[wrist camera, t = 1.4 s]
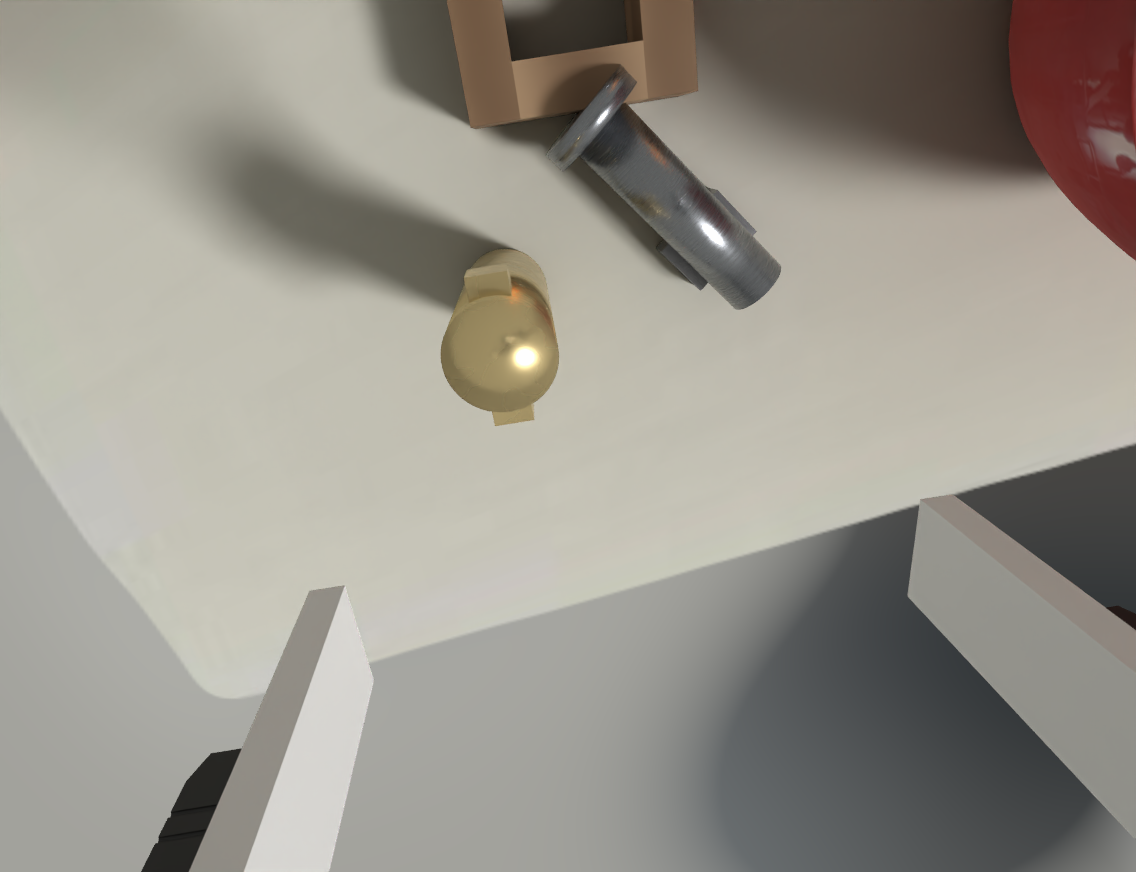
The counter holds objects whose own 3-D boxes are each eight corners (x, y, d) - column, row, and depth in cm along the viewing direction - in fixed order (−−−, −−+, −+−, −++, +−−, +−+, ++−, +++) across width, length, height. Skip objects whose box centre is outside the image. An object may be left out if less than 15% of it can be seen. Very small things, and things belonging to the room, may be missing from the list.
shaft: (543, 154, 32) (548, 156, 27) (611, 69, 31) (629, 55, 26) (705, 309, 36) (735, 336, 31) (772, 239, 35) (814, 256, 30)
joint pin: (537, 226, 34) (545, 267, 23) (555, 336, 36) (569, 421, 25) (454, 240, 34) (423, 287, 23) (477, 349, 36) (459, 438, 25)
